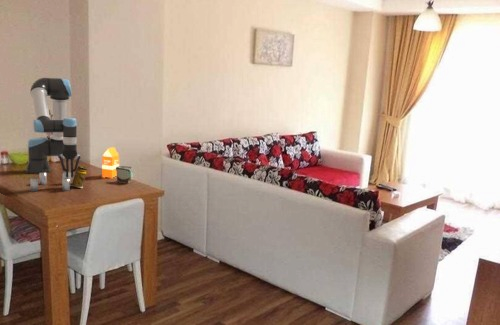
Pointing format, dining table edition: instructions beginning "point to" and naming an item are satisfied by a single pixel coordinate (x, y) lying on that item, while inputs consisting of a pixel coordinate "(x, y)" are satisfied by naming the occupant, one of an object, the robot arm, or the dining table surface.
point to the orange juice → (110, 163)
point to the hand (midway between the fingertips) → (69, 182)
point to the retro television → (123, 174)
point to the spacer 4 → (65, 184)
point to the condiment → (79, 177)
